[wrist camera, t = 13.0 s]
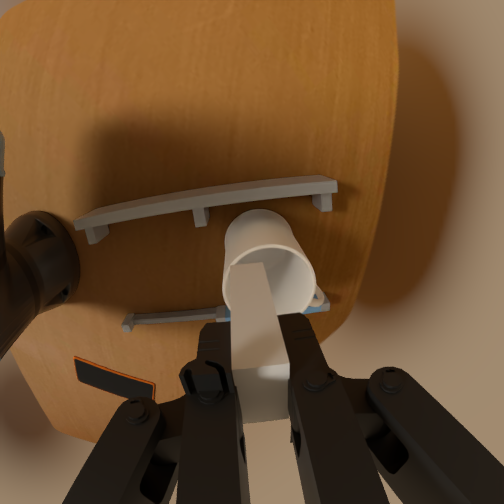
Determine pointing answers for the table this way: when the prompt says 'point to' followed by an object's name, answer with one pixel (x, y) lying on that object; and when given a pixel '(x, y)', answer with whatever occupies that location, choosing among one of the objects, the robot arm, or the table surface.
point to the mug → (272, 260)
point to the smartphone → (112, 380)
